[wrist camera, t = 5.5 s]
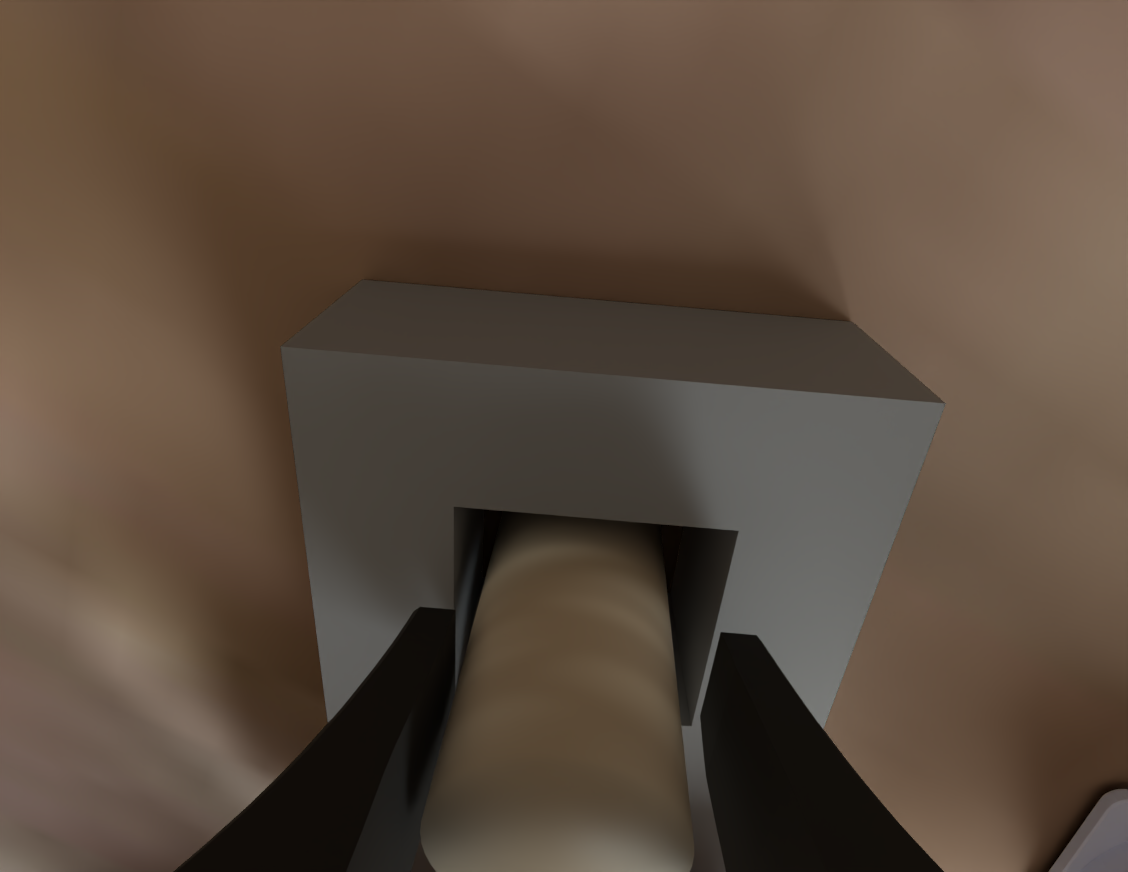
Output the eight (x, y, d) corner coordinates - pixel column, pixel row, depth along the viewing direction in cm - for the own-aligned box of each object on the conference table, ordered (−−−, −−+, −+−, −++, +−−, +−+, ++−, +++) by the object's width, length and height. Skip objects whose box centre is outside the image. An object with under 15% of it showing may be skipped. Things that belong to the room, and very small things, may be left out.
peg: (669, 452, 15) (719, 777, 8) (645, 577, 17) (669, 938, 10) (510, 434, 15) (418, 741, 8) (502, 561, 17) (420, 907, 10)
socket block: (852, 321, 14) (945, 404, 10) (723, 771, 20) (751, 918, 16) (362, 279, 13) (280, 346, 10) (391, 743, 20) (348, 884, 16)
